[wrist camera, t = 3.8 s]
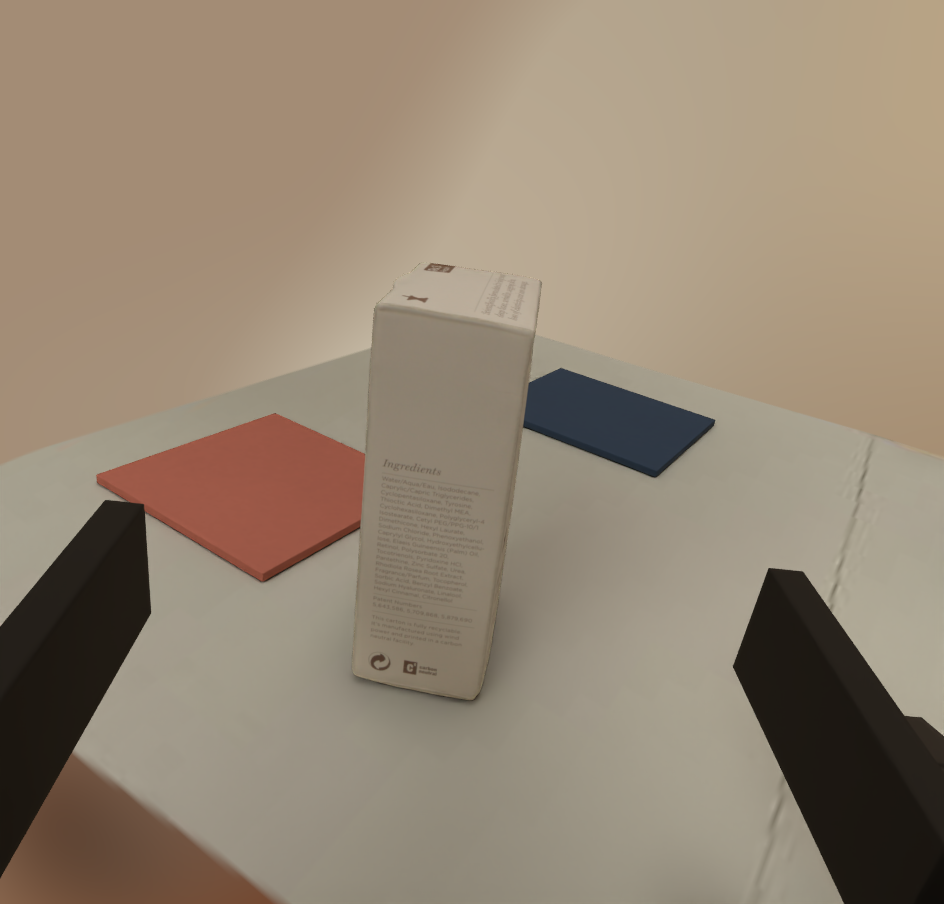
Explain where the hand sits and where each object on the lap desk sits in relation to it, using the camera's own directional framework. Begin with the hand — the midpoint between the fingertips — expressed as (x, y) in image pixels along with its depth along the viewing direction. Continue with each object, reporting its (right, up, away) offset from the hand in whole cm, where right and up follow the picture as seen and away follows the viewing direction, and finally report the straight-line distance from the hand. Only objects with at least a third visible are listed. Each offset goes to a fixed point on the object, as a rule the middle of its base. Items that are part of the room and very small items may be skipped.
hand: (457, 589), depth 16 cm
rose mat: (-9, +1, +18) cm, 20 cm away
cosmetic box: (-1, -3, +10) cm, 11 cm away
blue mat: (+8, +5, +30) cm, 32 cm away
